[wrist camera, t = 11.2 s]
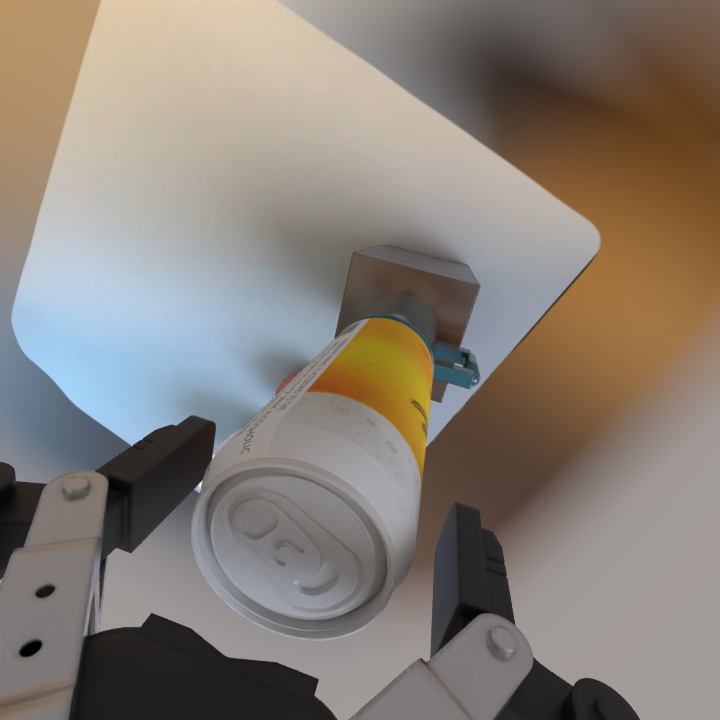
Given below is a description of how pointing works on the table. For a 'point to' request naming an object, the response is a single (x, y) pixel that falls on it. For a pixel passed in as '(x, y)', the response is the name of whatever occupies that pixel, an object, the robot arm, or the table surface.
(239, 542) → the beer can
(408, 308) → the teal mug
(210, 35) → the table surface
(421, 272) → the walnut stand
